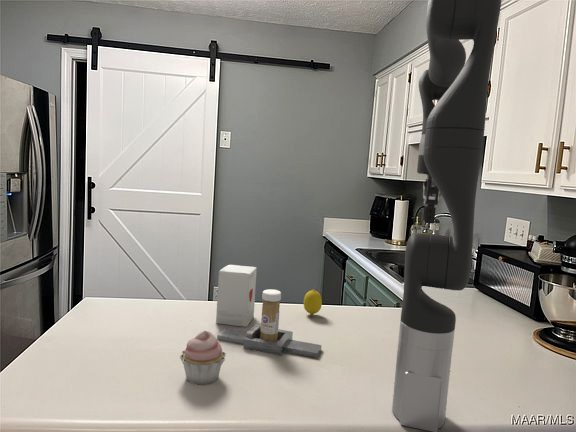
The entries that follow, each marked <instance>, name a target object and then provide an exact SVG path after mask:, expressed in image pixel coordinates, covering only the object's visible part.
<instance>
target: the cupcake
mask: <svg viewBox="0 0 576 432" xmlns="http://www.w3.org/2000/svg"><path fill="white" fill-rule="evenodd" d="M226 355H227V353H226V352H225V351H223V348H222V344H221V343H220V342H219V340H217V336H215V335H214V334H213V333H212V332H211V331H209V330H202V331H201V332H199V333H198V334H197V335H196V336H195V337H193V338H191V339H189V340H188V341H187V343H186V348H185V349H184V350H182V351H181V355H180V356H179V359H180V361H181V363H182V365H183V369H184V372H185V377H186V380H187V381H188V382H189V383H191V384H194V385H208V384H212V383H214V382H215V381H217V379H218V378H219V375H220V371H221V369H222V365H223V363H224V362H225V360H226Z"/></svg>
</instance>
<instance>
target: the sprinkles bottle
mask: <svg viewBox="0 0 576 432" xmlns="http://www.w3.org/2000/svg"><path fill="white" fill-rule="evenodd" d="M261 299H262V307H261V308H262V309H261V320H260V325H261V335H260V339H262V340H267V341H273V342H278V341H277V337H278V329H279V324H280V323H279V322H280V305H281V299H282V292H281V291H280V290H278V289H264V290H263V291H262V296H261Z"/></svg>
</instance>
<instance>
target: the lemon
mask: <svg viewBox="0 0 576 432" xmlns="http://www.w3.org/2000/svg"><path fill="white" fill-rule="evenodd" d="M322 305H323V301H322V296H321V294H320V293H319V292H318V290H317V291H316V289H311V290H309V291H308V292H306V293H305V295H304V298H303V308H304V310H305V311H306V313H308V314H309V315H311V316H314V314H317V313H318V312H320V311H321V309H322Z"/></svg>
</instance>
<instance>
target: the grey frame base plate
mask: <svg viewBox="0 0 576 432" xmlns="http://www.w3.org/2000/svg"><path fill="white" fill-rule="evenodd" d="M293 333H294V331H291V330H285V329H280V328H278V337H277V342H273V341H267V340H262V339H260V335H261V323H260V324H259V323H255V324H254V325H253V326H252V327H251V328H250V329H248V331H243V330H238V329H233V328H228V327H226V328H225V327H224V329H222V330H221V331H220V332H219V333H218V334H216V335H217V336H216V339H217V340H218V341H223V342H229V343H235V344H240V345H243V346H242V347H243V349H244V350H248V349H249V351H253V350H254V352H258V351H259V353H264V354H270V355H274V356H281V357H282V356H283V354H284V353H288V354H293V355H298V356H304V357H309V358H314V359H317V358H318V357H319V356H320V355H319V354H320V353H321V351H322V344H318V343H317V344H316V343H313V342H307V341H306V342H305V341H301V340H295V339H293Z"/></svg>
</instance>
